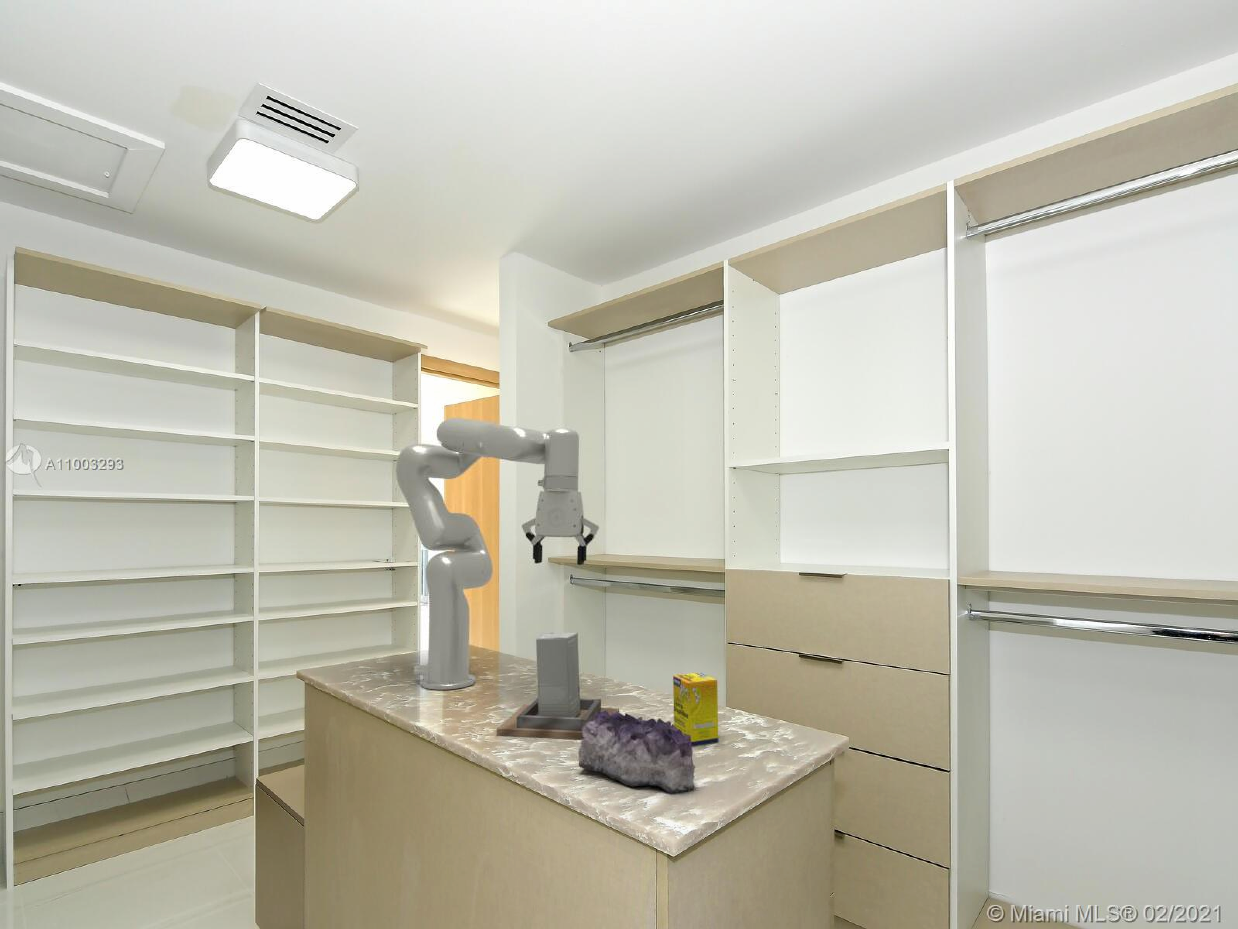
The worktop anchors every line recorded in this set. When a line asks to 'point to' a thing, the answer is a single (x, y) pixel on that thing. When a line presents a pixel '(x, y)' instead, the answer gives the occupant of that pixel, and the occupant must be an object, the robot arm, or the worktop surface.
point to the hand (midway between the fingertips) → (559, 563)
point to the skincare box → (558, 675)
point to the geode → (638, 751)
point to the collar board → (551, 722)
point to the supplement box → (696, 707)
